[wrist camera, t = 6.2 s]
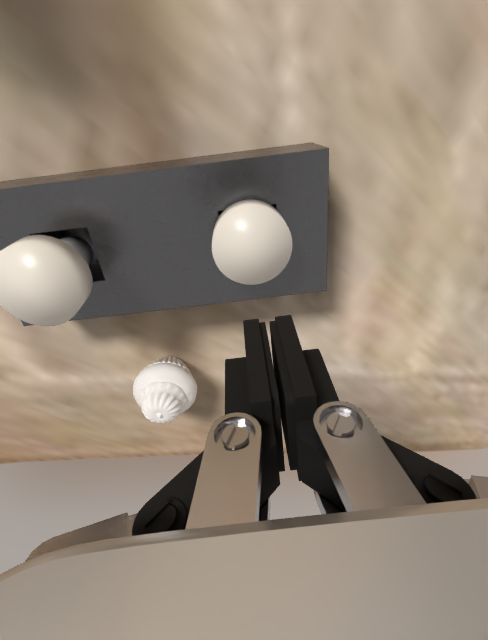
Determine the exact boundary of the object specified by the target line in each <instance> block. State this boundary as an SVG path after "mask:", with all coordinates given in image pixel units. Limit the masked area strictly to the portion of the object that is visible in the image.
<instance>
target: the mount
mask: <svg viewBox="0 0 488 640" xmlns="http://www.w3.org/2000/svg"><path fill="white" fill-rule="evenodd" d="M328 175H329V148H327V147H324V146H321V145H318V144H315V143H305V144H297V145H289V146H281V147H273V148H265V149H257V150H249V151H241V152H233V153H225V154H217V155H209V156H202V157H194V158H186V159H178V160H170V161H162V162H154V163H146V164H138V165H130V166H122V167H114V168H106V169H98V170H90V171H82V172H74V173H66V174H58V175H50V176H42V177H34V178H26V179H18V180H10V181H2V182H0V251H1V250H3V249H4V248H6V247H8V246H9V245H11V244H13V243H14V242H16V241H18V240H19V239H21V238H23V237H26V236H31V235H46V236H51V237H54V238H57V239H61V238H62V237H64V236H68V235H74V236H78V237H81V238H82V239H84V240H85V241H86V242H87V243H88V244H89V245H90V246H91V248H92V250H93V261H92V263H91V264H90V265H89V268H90V271H91V274H92V279H93V285H92V290H91V293H90V295H89V297H88V298H87V300H86V301H85V302H84V304H83V305H82V306H81V308H80V309H79V310H78V312H77V313H76V314H75V316H73V317H72V318H71V319H70V320H68V321H71V320H80V319H88V318H97V317H105V316H114V315H122V314H131V313H139V312H148V311H156V310H165V309H173V308H182V307H190V306H199V305H207V304H216V303H224V302H233V301H241V300H250V299H258V298H267V297H275V296H284V295H292V294H301V293H309V292H318V291H326V285H327V230H328ZM251 199H252V200H259V201H263V202H266V203H268V204H270V205H271V206H273V207H274V208H275V209H276V210H277V211H278V212H279V213H280V214H281V215H282V217H283V219H284V221H285V222H286V224H287V226H288V228H289V230H290V233H291V236H292V253H291V256H290V259H289V261H288V263H287V265H286V267H285V268H284V269H283V271H282V272H281V273H280V274H279V275H277V276H276V277H275V278H273V279H271V280H269V281H267V282H265V283H261V284H256V285H246V284H241V283H238V282H235V281H233V280H231V279H229V278H228V277H226V276H225V275H224V274H223V273H222V272H221V271H220V270H219V268H218V267H217V265H216V263H215V261H214V258H213V254H212V237H213V230H214V226H215V223H216V221H217V219H218V218H219V216H220V215H221V213H222V212H223V211H224V210H225V209H226V208H228V207H229V206H231V205H232V204H234V203H236V202H239V201H243V200H251ZM21 321H22V320H21ZM22 323H23V325H24V326H29V325H34V324H30V323H27V322H24V321H22Z"/></svg>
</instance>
